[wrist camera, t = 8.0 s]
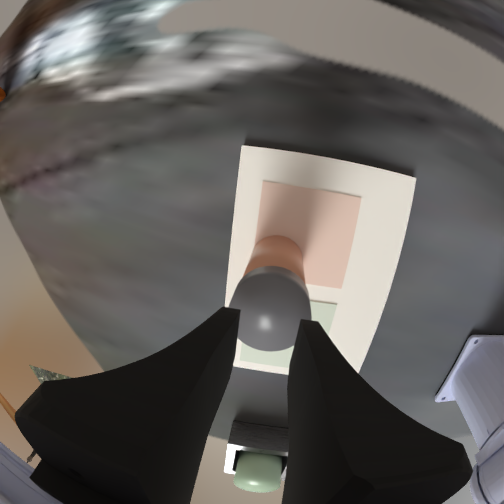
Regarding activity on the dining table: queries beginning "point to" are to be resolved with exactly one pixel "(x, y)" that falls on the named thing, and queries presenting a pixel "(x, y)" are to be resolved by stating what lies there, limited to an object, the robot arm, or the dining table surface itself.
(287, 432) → the frame
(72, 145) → the dining table surface
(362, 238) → the picture sheet
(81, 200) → the dining table surface
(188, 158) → the dining table surface
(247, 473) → the button
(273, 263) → the marker
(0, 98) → the carrot
